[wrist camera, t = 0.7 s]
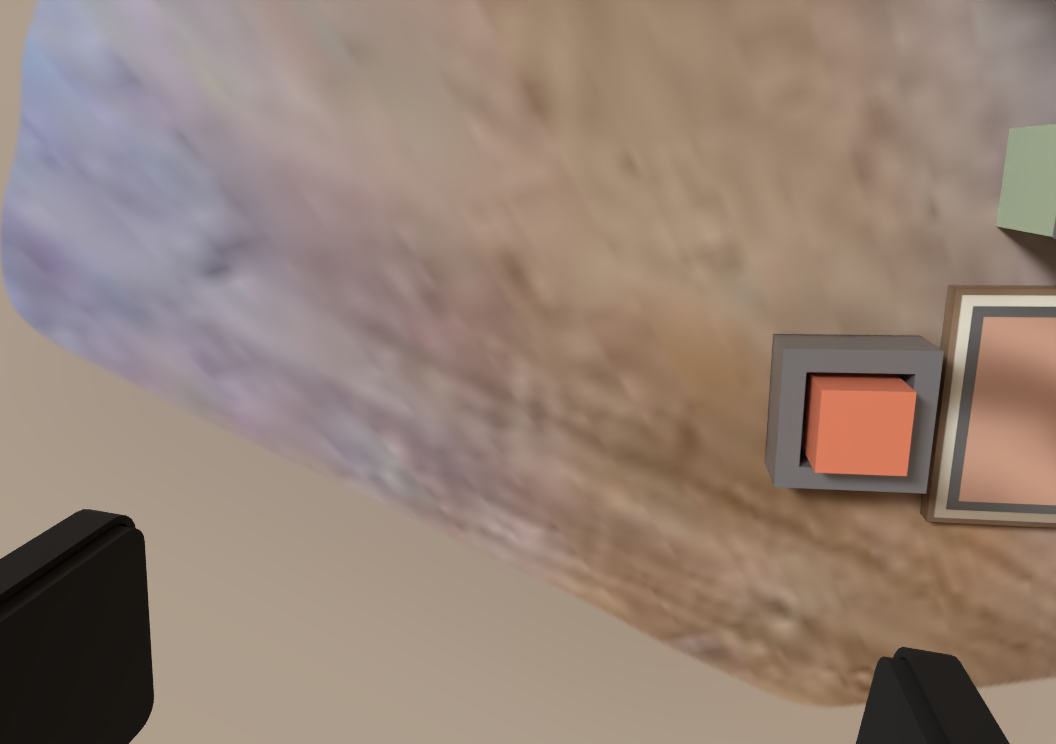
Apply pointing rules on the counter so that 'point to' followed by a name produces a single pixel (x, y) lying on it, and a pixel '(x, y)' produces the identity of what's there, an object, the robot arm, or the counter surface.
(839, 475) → the button housing
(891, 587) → the counter surface
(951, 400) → the picture board
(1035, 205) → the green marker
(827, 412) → the button
